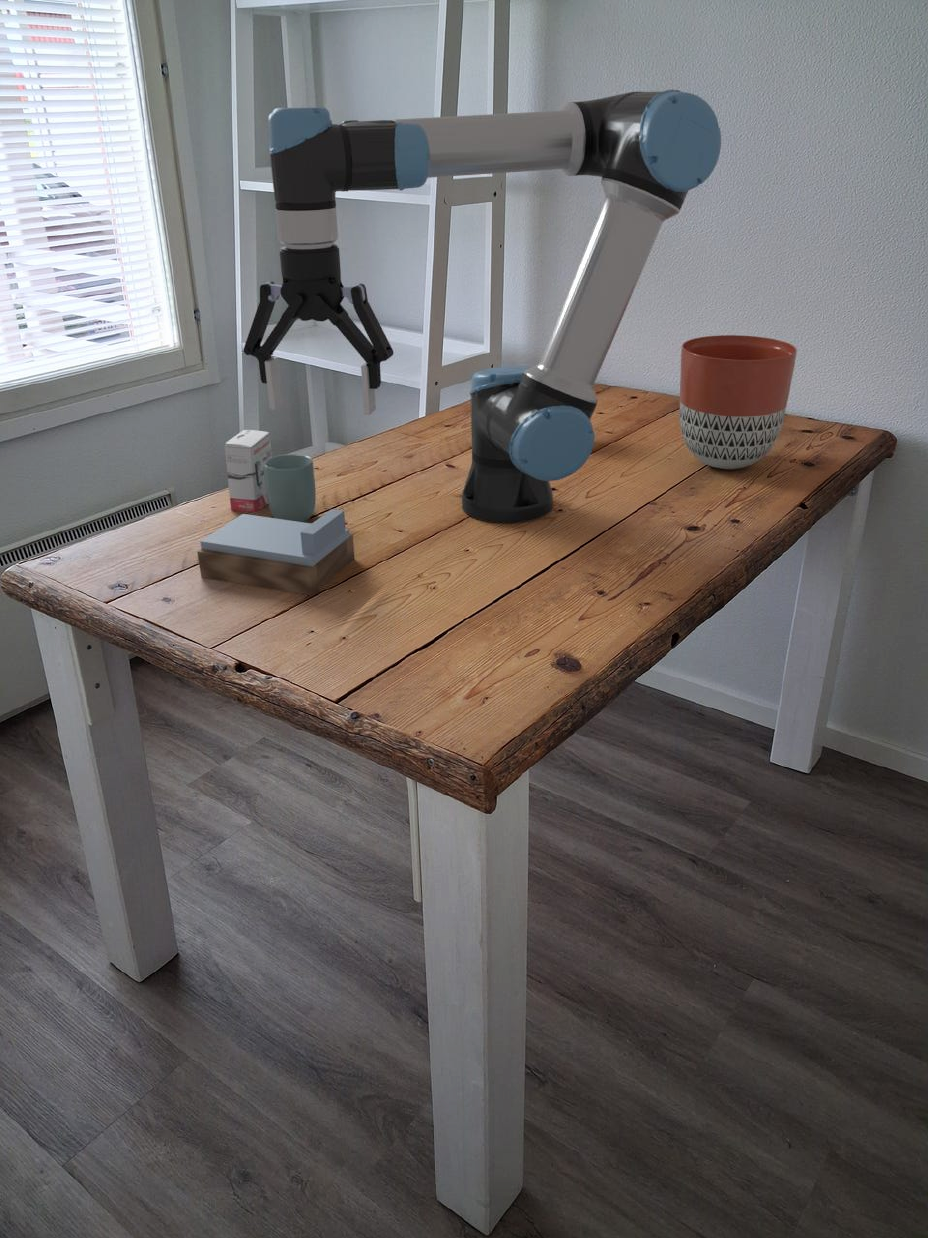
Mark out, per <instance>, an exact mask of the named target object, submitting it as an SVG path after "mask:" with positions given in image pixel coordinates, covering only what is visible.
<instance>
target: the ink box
mask: <svg viewBox="0 0 928 1238" xmlns="http://www.w3.org/2000/svg"><path fill="white" fill-rule="evenodd" d="M224 452H225V462H226V471H227V482H228V483H227V485H228V492H229V495H228V496H229V502H230V503H229V504H230V510H231V511H235V512H236V511H237V512H252V513H253V512H255V513H256V512H258V511H260V510H261V509H263V508H264V507H266V506H267V505H268V500H267V495H266V488H265V480H264V471H263V465H264V462H265V461H266V460H268V459H269V458H272V457H273V454H272V443H271V432H270V431H266V430H265V431H264V430H257V429H243V430H241V431H240V432H239V433H237V434H236V435H234V436H233V437H232V438H229V440H227V441H226V442H225V445H224Z"/></svg>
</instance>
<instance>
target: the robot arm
mask: <svg viewBox="0 0 928 1238" xmlns="http://www.w3.org/2000/svg"><path fill="white" fill-rule="evenodd" d="M267 118H268V121H267V122H268V142H269V143H268V145H269V148H268V153H269V158H270V159H269V160H270V167H271V175H272V176H271V177H272V186H273V195H274V196H273V197H274V202H275V203H274V206H275V216H276V231H277V241H278V242H279V243H280V244H282V245H283V246H281V247H280V249H279V261H280V268H281V269H280V271H281V272H280V273H281V277H282V283H281V284H282V285H281V284H276V283H275V282H274V281H273V280H271V281H267V282H264V283H263V284H261V285H260V287H259V303H258V305H257V308H256V311H255V314H254V317H253V320H252V324H251V327H250V329H249V332H248V335H247V337H246V340H245V344H244V347H243V353H244V354H245V355H246V356H252V357H254V358H256V359H257V361H258V367H259V368H258V369H259V377H260V381H261V383H262V384H266V385H267V386H266V387H267V395H268V404H269V405H268V406H269V410H273V411H274V410H275V411H276V410H277V409H278V408H279V407H281V406H283V403H284V402H283V394H282V385H281V383H282V382H281V376H280V375H281V373H280V367H279V366H280V364H279V357H278V356H273V355H274V352H275V350H276V349H277V347H279V345H280V344H281V342H282V340H283V339H284V338H285V336H286V335H287V333H288V332H289V331H290V329H291V328H292V327H293V325H294V324H295V322H296V321H297V320H298V319H300V321H301V322H308V321H316V322H325V321H327V320H328V321H329V322H330V323H331V324H332V325H333V326H335V327H336V328H337V329H338V330H339V332H340V333H341V334H342V335H343V336H344V338H345V339H346V340H347V341H348V342H349V344H350V345H351V346H352V348H354V350H355V351H356V352H357V353H358V354H359V355H360V357H361V358H362V359H363V360H364V361H365V362H364V363H363V364H361V366H360V368H361V372H360V373H361V386H362V401H363V402H362V403H363V415H364V416H370V415H371V414H372V413H374V411H376V409H377V405H376V403H377V402H376V390H378V388H380V387H381V384H382V380H381V379H382V377H381V363H382V362H385V361H387V360H389V359H390V358H392V356H394V349H393V348H392V346H391V344H390V342H389V339H388V338H387V336H386V334H385V332H384V329H383V328H382V326H381V324H380V322H379V320H378V318H377V316H376V315H375V312H374V311H373V309H372V307H371V304H370V302H369V301H368V300H369V299H368V294H367V288H366V285H365V284H363V283H358V284H356V285H353V286H344V285H343V282H342V278H341V277H342V275H341V274H342V272H341V255H340V247H339V246H338V245H337V244H335V243H334V242H336V241H338V239H339V232H338V229H339V228H338V217H337V216H338V215H337V203H336V194H337V193H336V192H341V193H342V192H350V191H356V192H357V191H384V190H386V191H387V190H390V191H391V190H399V191H404V190H405V189H406V190H407V189H417V188H420V187H423V186H424V185H425V184H426V183H427V180H428V178H429V179H431V178H442V177H443V178H445V177H447V178H448V177H462V176H475V175H476V176H477V175H490V174H494V175H495V174H506V173H507V174H508V173H523V172H525V173H526V172H538V171H539V172H540V171H553V170H561V171H562V172H563V173H564V175H566V176H568V177H573V176H577V177H578V176H590V177H592V176H593V177H600V178H601V179H600V183H601V186H602V189H603V192H604V195H605V199H604V201H603V204H602V207H601V209H600V211H599V214H598V216H597V219H596V221H595V224H594V226H593V229H592V231H591V233H590V236H589V238H588V241H587V243H586V246H585V249H584V251H583V254H582V256H581V259H580V260H579V263H578V266H577V268H576V271H575V273H574V276H573V278H572V281H571V283H570V286H569V288H568V290H567V293H566V296H565V298H564V301H563V303H562V305H561V307H560V308H561V309H560V310H559V313H558V315H557V318H556V319H555V323H554V325H553V327H552V330H551V333H550V335H549V338H548V340H547V343H546V345H545V348H544V351H543V352H542V354H541V357H540V359H539V362H538V363H537V364H536V365H534V366H527V365H523V366H521V365H519V366H517V365H516V366H515V365H514V366H499V367H491V368H490V367H489V368H485V369H482V370H478V371H476V372H475V373H474V374H473V375H472V377H471V380H470V381H471V384H470V385H471V387H470V391H469V395H470V412H471V413H470V416H471V418H470V420H471V421H470V422H471V423H470V424H471V425H470V426H471V465H470V468H469V471H468V475H467V477H466V480H465V482H464V483H465V484H464V485H463V486H464V487H463V490H462V493H461V509H462V510H463V512H465V513H466V515H468V516H470V517H471V518H474V519H477V520H481V521H485V522H491V523H499V524H500V523H501V524H502V523H503V524H512V523H513V524H515V523H516V524H517V523H524V522H529V521H534V520H537V519H540V518H543V517H544V516H546V515H548V514H549V513H551V511H552V509H553V508H554V505H553V502H554V501H553V500H554V495H553V489H552V488H551V483H550V482H554V481H559V480H563V479H565V478H567V477H569V476H571V475H573V474H574V473H577V471H579V470H580V469H581V468H582V467H583V466H584V465H585V463H586V462H587V461H588V459H589V458H590V456H591V453H592V451H593V447H594V443H595V432H594V429H593V425H592V424H593V423H592V421H591V418H592V417H593V414H594V411H595V409H596V407H597V405H598V402H599V399H598V397H597V394H596V391H595V389H594V387H595V383H596V381H597V378H598V376H599V374H600V371H601V369H602V366H603V363H604V361H605V359H606V357H607V355H608V352H609V350H610V348H611V345H612V343H613V340H614V338H615V336H616V334H617V331H618V328H619V327H620V324H621V322H622V319H623V317H624V314H625V313H626V310H627V307H628V305H629V303H630V300H631V298H632V295H633V293H634V291H635V288H636V287H637V285H638V282H639V279H640V277H641V275H642V272H643V270H644V267H645V265H646V263H647V261H648V258H649V256H650V254H651V251H652V249H653V246H654V244H655V242H656V241H657V240H656V239H657V236H658V234H659V232H660V230H661V227H662V225H663V224H664V222H665V221H666V220H669V219H670V218H673V217H674V216H675V217H676V216H677V215H678V214H679V213H680V211H681V209H682V206H683V204H684V202H685V200H686V197H687V195H688V193H689V191H690V190H693V189H695V188H697V187H698V186H699V185H701V184H703V183H705V182H706V181H707V179H708V178H709V177H710V176H711V175H712V174H713V172H714V169H715V168H716V166H717V164H718V162H719V158H720V154H721V149H722V148H721V147H722V134H721V132H722V131H721V128H720V126H719V121H718V117H717V115H716V114H715V111H714V110H713V108H712V107H711V106H710V105H709V103H708V102H707V101H706V100H705V99H703V98H702V97H701V96H698V95H696V94H694V93H691V92H684V91H681V90H678V89H667V90H663V91H630V92H626V93H620V94H616V95H611V96H606V97H602V98H597V99H591V100H584V101H570V102H567V103H565V104H564V105H563V106H562V108H561V109H560V110H549V111H530V112H528V111H527V112H513V113H511V112H510V113H494V114H477V115H476V114H474V115H473V114H472V115H455V116H454V115H453V116H452V115H451V116H437V117H433V116H432V117H417V118H398V119H389V120H388V119H379V120H364V121H363V120H361V121H359V120H356V119H355V120H354V119H353V120H350V119H349V120H345V121H342V122H341V123H339V124H337V123H333V121H332V120H331V114H330V111H329V110H328V109H327V108H326V107H323V106H320V107H319V106H318V107H312V106H311V107H310V106H309V107H277V108H274V109H273V110H272V111H270V113H269V115H268V117H267ZM280 296H281V297H282V299H283V300H284V302H286V304H287V307H286V308H285V310H284V312H283V313H282V315H281V317H280V319H279V320H278V322H277V324H276V325H275V326H274V328H273V329H272V331H271V332H270V333H269V335H268V336H267V338H266V339H265V340H264V342H263V339H264V336H265V334H266V330H267V327H268V325H269V322H270V319H271V316H272V313H273V310H274V307H275V305H276V301H278V300H279V299H280ZM345 298H346V299H347V300H348V302H349V304H352V306H353V309H354V311H355V314H356V315H357V317H358V319H359V321H360V322H361V325H362V327H363V328H364V331H365V332H366V335H367V336H368V338H369V339H368V338H367V337H366V335H365V334H364V333H363V332H362V331H361V330H360V328H359V327H358V325H357V324H356V323H355V322H354V321H353V320H352V319H351V317H350V316H349V312H348V311H347V310H346V309H345V308H344V307H343V305H342V304H341V303H342V302H343V301H344V299H345ZM262 342H263V344H262ZM261 344H262V345H261Z"/></svg>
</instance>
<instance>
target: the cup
mask: <svg viewBox="0 0 928 1238" xmlns="http://www.w3.org/2000/svg"><path fill="white" fill-rule="evenodd" d="M314 469H315V467H314V461H313V459H312V458H311V457H310V456H308V455H303V454H296V453H294V454H292V453H288V454H287V453H286V454H279V455H275V456H272V458H269V459H268V460H266V461H265V462H264V465H263V471H264V480H265V488H266V495H267V500H268V504H267V505H268V507H269V510H270V513H271V515H272V516H273V517H272V518H276V519H283V520H290V521H297V522H304V523H306V522H307V521H309V520H310V519H311V517H312V516H313V515H314V513H315V508H316V501H317V500H316V498H317V497H316V495H317V494H316V493H317V492H316V479H315V470H314Z"/></svg>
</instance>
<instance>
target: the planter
mask: <svg viewBox="0 0 928 1238" xmlns="http://www.w3.org/2000/svg"><path fill="white" fill-rule="evenodd" d="M680 348H681V350H680V352H681V353H680V380H679V381H680V383H679V424H680V425H679V426H680V431H681V432H680V433H681V436H682V439H683V442H684V444H685V445H686V447H687V449H688V450H689V452H690V453H691V454H692V455H693V456H694V457H695V458H696V459H697V460H698V461H699V462H701V463H703V464H704V465H707V466H709V467H711V468H715V469H720V470H739V469H744V468H746V467H751V465H754V464H755V463H757V462H759V461H760V460H761V459H763V458H764V457H765V456H766V455H767V454H768V453H769V452H770V451H771V450H772V448H774V446H775V444H776V442H777V440H778V437H779V435H780V434H781V430H782V428H783V424H784V420H785V416H786V410H787V406H788V405H787V404H788V401H789V395H790V389H791V385H792V379H793V376H794V375H793V374H794V370H795V365H796V359H797V354H798V349H797V347H796V346H794V345H793V344H791V343H788V342H787V341H782V340H778V339H775V338H769V337H764V336H763V337H762V336H755V335H738V334H736V335H735V334H734V335H732V334H730V335H729V334H726V335H725V334H723V335H721V334H719V335H708V336H701V337H695V338H691V339H688V340H686V341H685V342H683V343H682V344H681V347H680Z"/></svg>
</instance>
